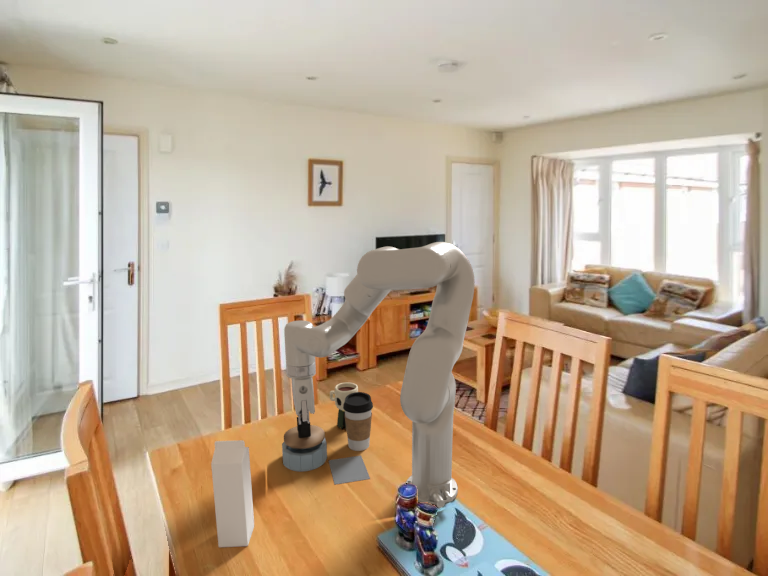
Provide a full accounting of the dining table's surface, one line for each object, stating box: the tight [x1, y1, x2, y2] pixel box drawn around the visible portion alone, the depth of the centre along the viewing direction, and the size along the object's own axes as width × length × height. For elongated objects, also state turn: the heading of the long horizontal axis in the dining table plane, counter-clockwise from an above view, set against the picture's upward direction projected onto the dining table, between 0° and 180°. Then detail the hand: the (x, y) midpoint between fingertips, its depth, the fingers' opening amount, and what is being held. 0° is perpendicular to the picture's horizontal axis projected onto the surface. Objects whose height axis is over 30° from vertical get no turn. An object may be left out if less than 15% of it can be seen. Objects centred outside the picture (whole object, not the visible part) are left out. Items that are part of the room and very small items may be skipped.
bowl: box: [281, 437, 328, 472], centre depth 125 cm, size 12×12×5 cm
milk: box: [210, 439, 255, 548], centre depth 95 cm, size 6×6×22 cm
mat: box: [328, 455, 371, 485], centre depth 120 cm, size 11×9×1 cm
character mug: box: [329, 382, 359, 430], centre depth 143 cm, size 11×7×13 cm, turn 76°
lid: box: [283, 416, 326, 449], centre depth 123 cm, size 11×11×6 cm
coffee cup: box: [343, 391, 374, 452], centre depth 131 cm, size 8×8×15 cm
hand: (304, 433), depth 124 cm, fingers closed on lid, 2 cm apart
